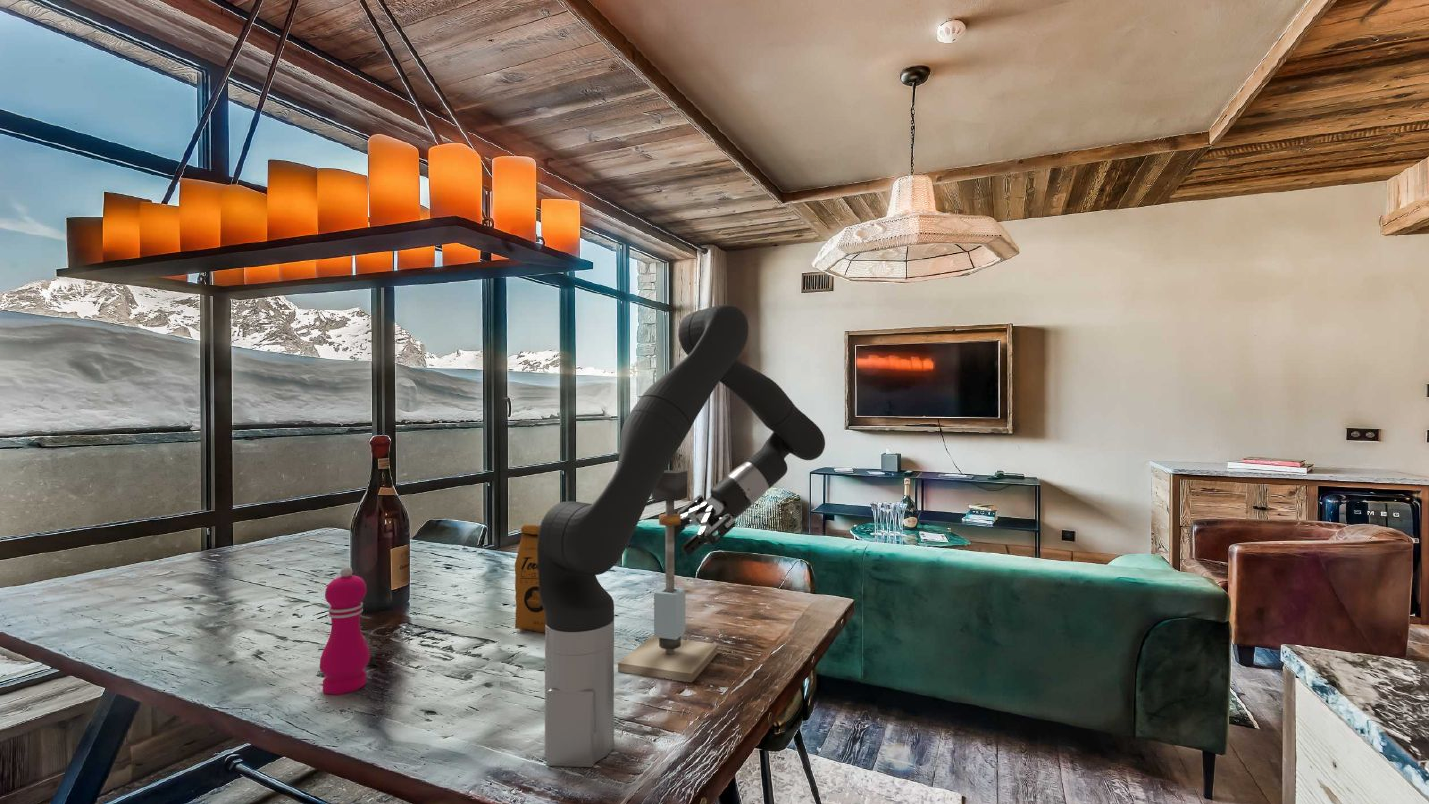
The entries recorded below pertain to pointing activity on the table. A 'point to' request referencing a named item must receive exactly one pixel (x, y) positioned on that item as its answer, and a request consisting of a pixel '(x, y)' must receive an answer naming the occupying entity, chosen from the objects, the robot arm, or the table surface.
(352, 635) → the pepper mill
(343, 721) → the table surface
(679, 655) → the rod stand
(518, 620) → the coffee package
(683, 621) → the sleeve
